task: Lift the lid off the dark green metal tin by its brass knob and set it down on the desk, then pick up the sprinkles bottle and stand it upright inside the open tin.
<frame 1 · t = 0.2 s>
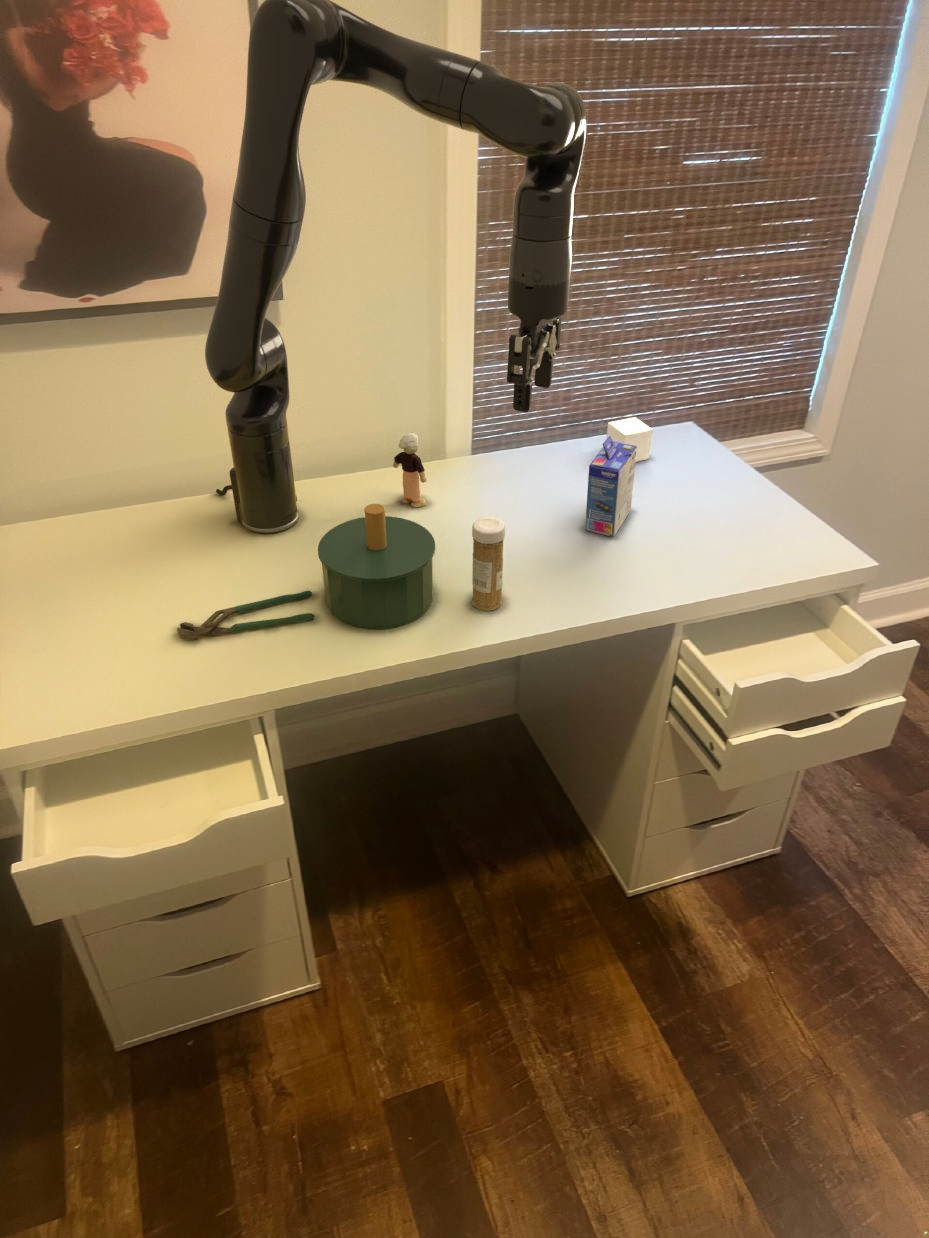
hand: (532, 398, 121), 29 cm above the table, tool pointing down, fingers open, 8 cm apart
grandmother figurine: (411, 502, 157), on the table
tin lid: (377, 549, 129), point 8 cm above the table, touching tin
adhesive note: (626, 456, 172), on the table
tin: (379, 597, 134), on the table
sprinkles bottle: (486, 603, 133), on the table
pliers: (248, 619, 130), on the table
ink cartridge box: (606, 521, 152), on the table
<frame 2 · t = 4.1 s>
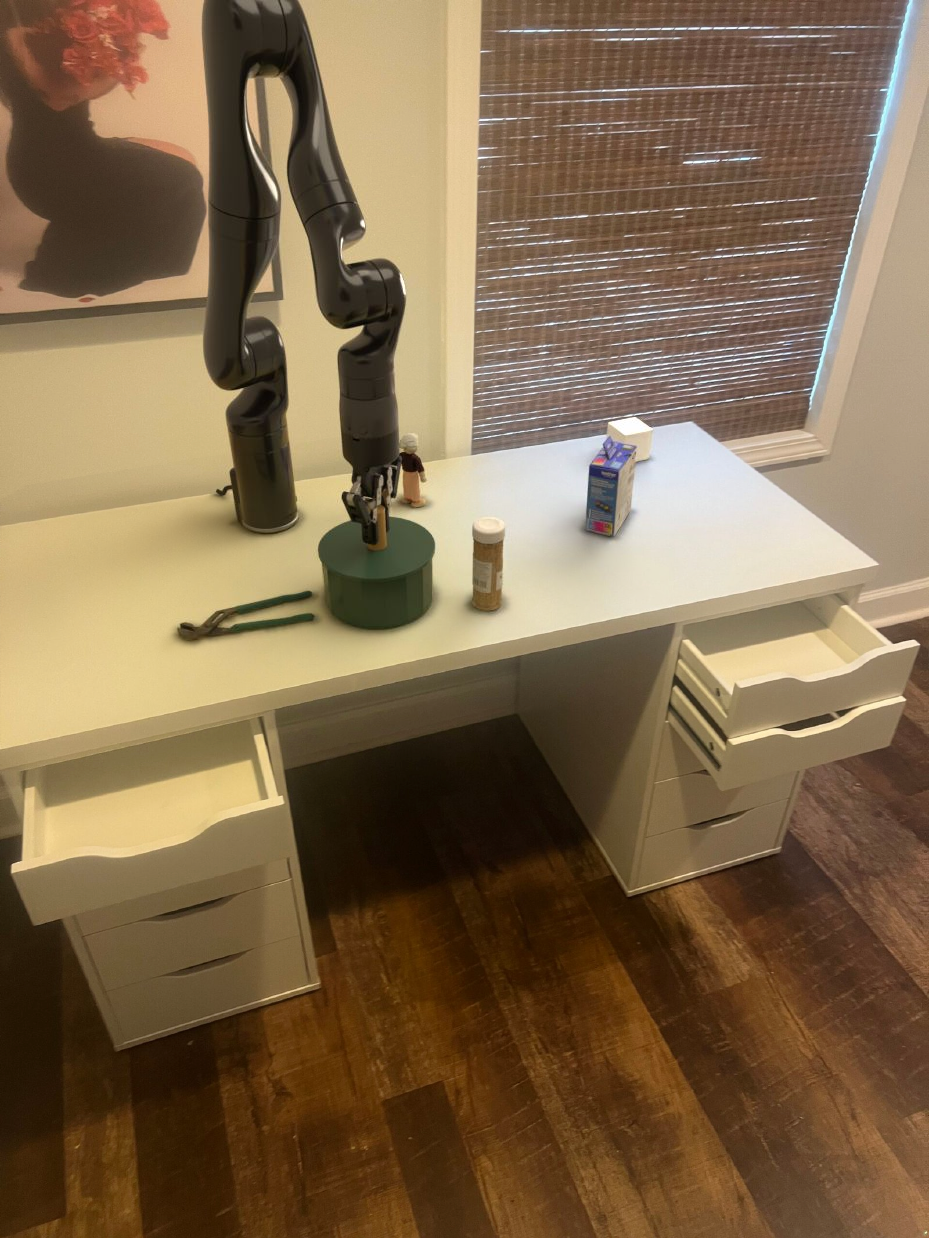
hand: (376, 536, 127), 11 cm above the table, tool pointing down, fingers closed on tin lid, 3 cm apart
tin lid: (377, 549, 129), point 9 cm above the table, touching gripper, tin
everything else where it was.
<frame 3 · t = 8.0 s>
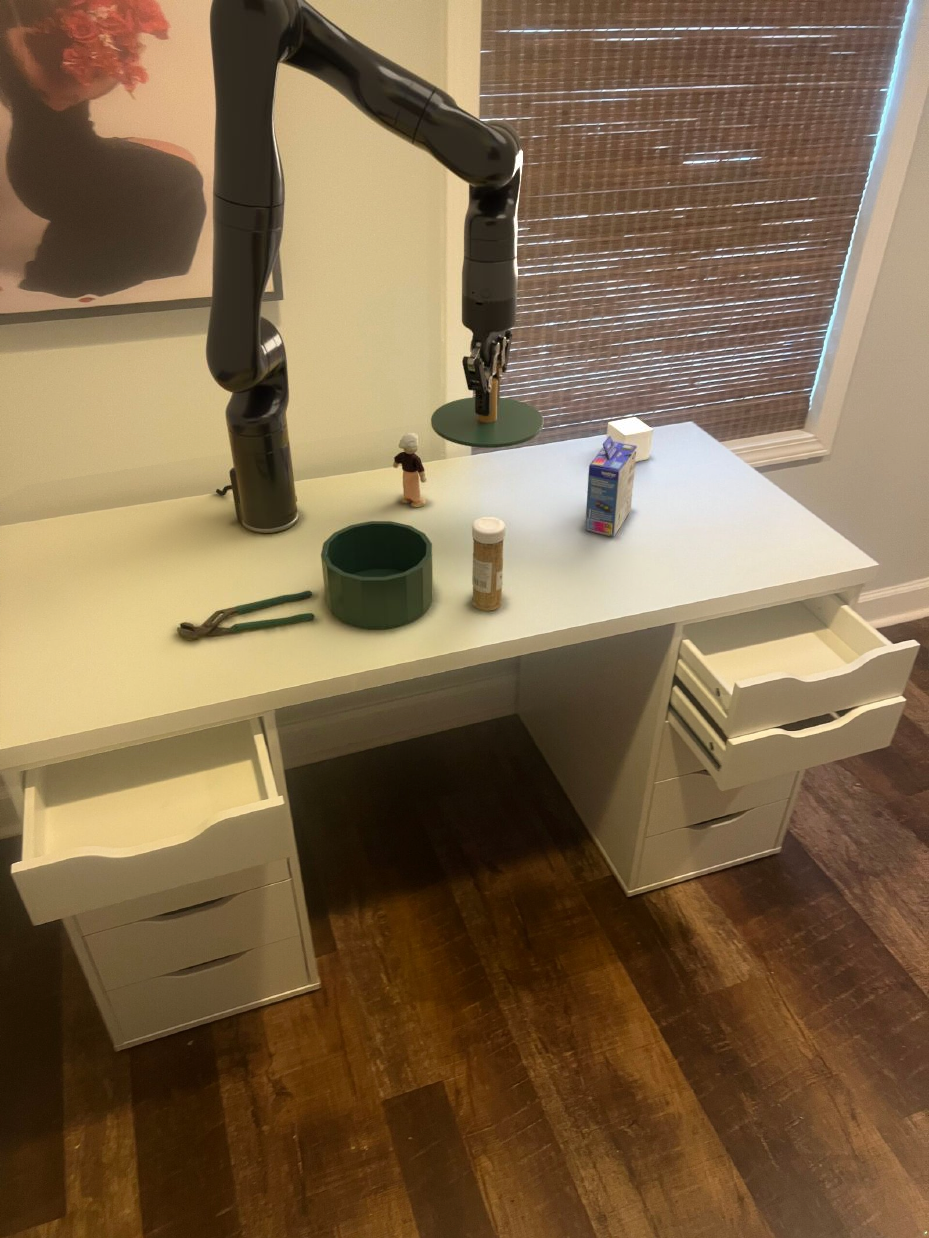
hand: (487, 409, 133), 23 cm above the table, tool pointing down, fingers closed on tin lid, 3 cm apart
tin lid: (487, 422, 134), point 21 cm above the table, touching gripper
everything else where it was.
when the fingers open (3 cm above the table, at t = 11.9 s): tin lid stays where it is, point 1 cm above the table.
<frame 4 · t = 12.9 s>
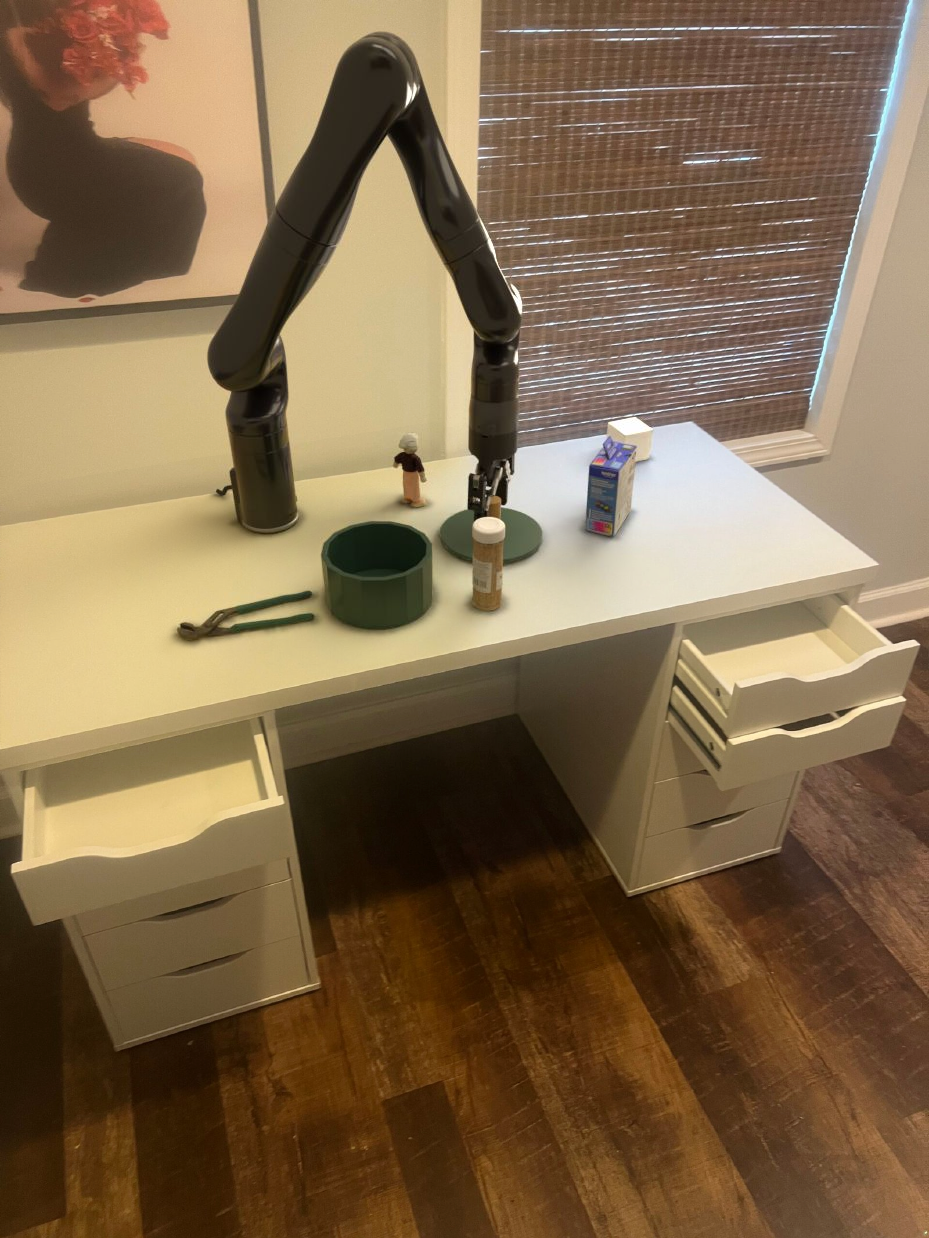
hand: (490, 516, 145), 4 cm above the table, tool pointing down, fingers open, 8 cm apart
tin lid: (491, 535, 147), point 1 cm above the table
everything else where it was.
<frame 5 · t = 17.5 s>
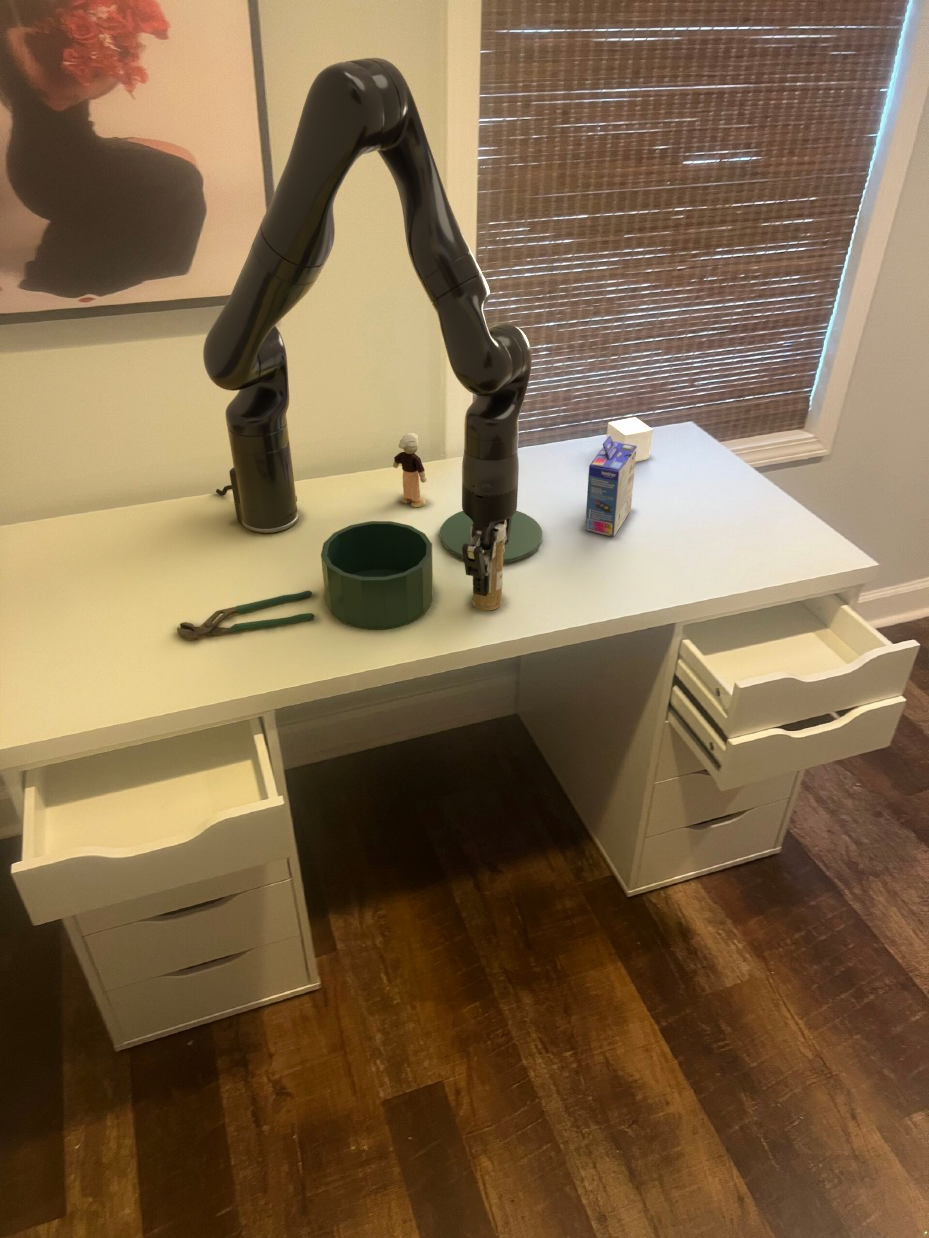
hand: (487, 584, 131), 3 cm above the table, tool pointing down, fingers closed on sprinkles bottle, 4 cm apart
sprinkles bottle: (486, 603, 133), on the table, touching gripper
everything else where it was.
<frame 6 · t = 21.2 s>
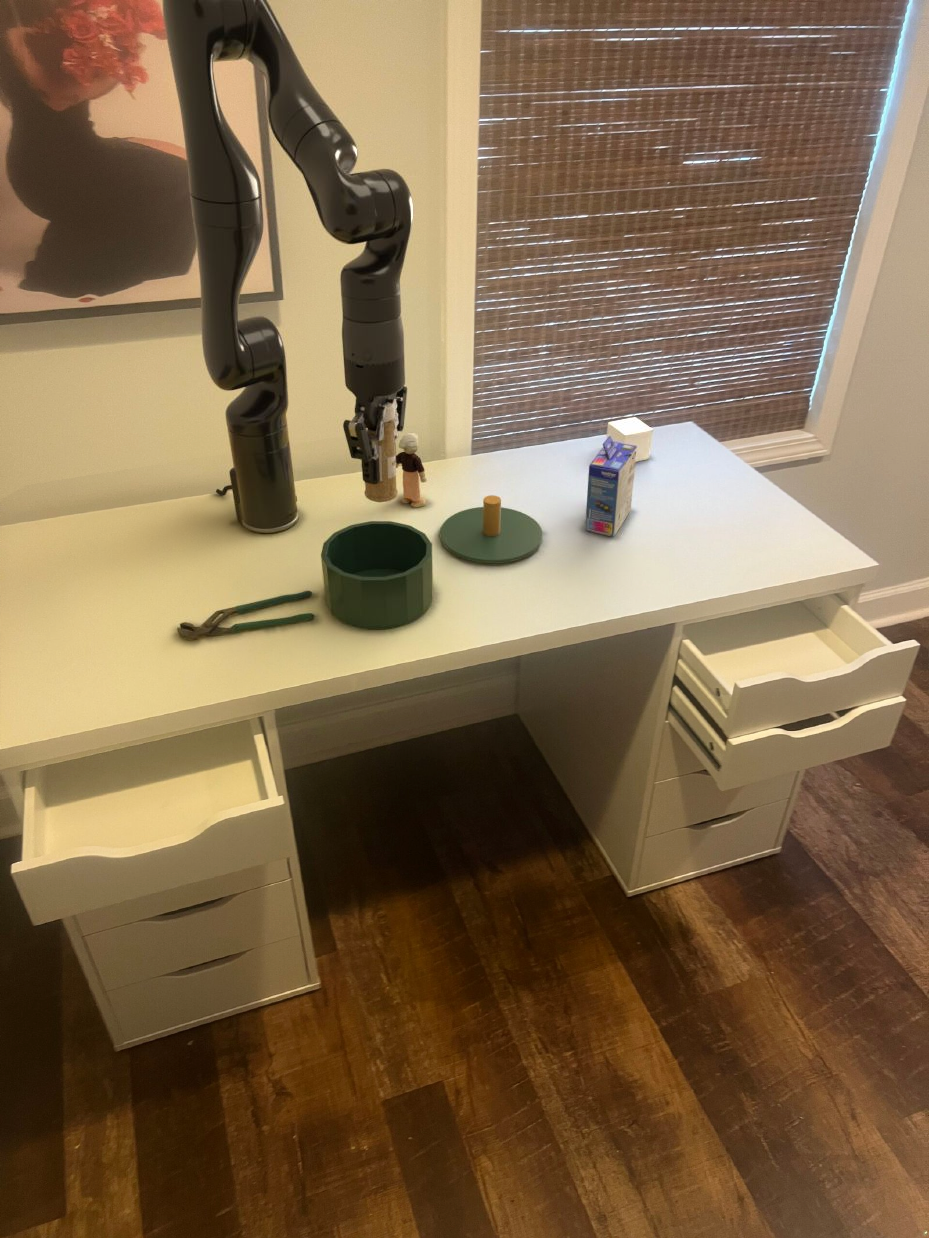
hand: (379, 473, 122), 20 cm above the table, tool pointing down, fingers closed on sprinkles bottle, 4 cm apart
sprinkles bottle: (380, 496, 124), point 17 cm above the table, touching gripper
everything else where it was.
when the fingers open (4 cm above the table, at t = 25.3 s): sprinkles bottle stays where it is, resting on tin.
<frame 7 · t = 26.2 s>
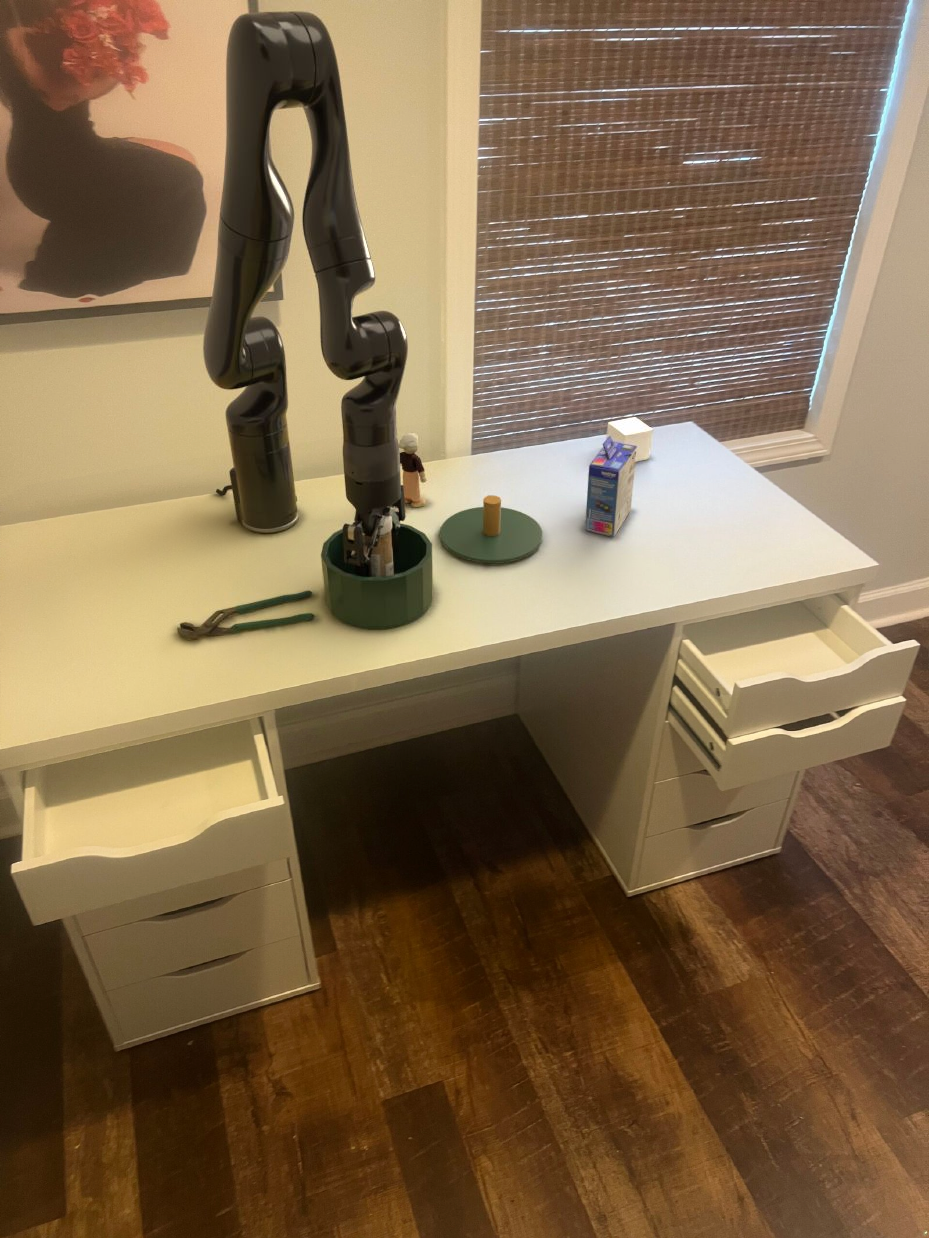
hand: (377, 567, 131), 5 cm above the table, tool pointing down, fingers open, 8 cm apart
sprinkles bottle: (380, 596, 134), resting on tin
everything else where it was.
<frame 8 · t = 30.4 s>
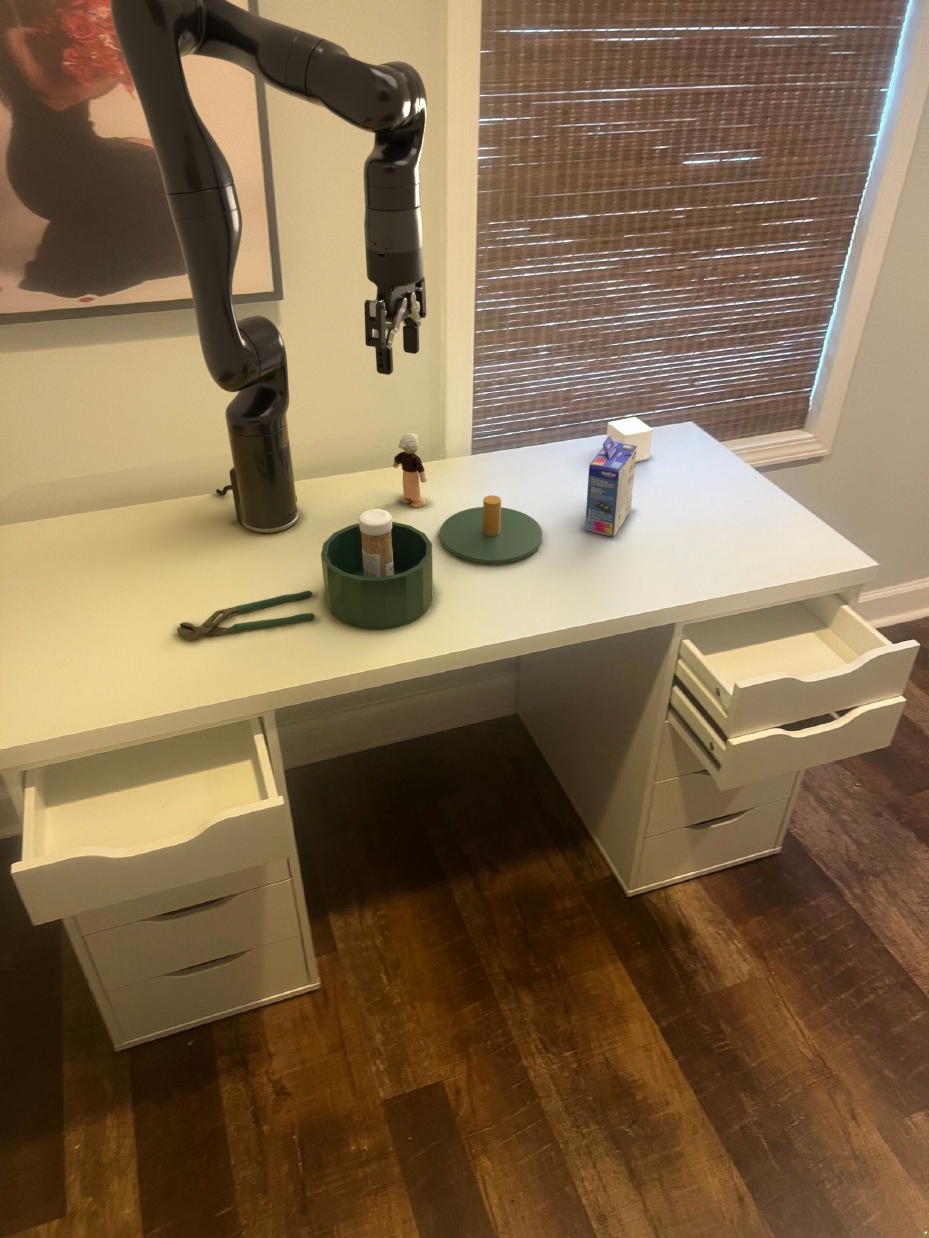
hand: (398, 362, 128), 30 cm above the table, tool pointing down, fingers open, 8 cm apart
nothing on the table moved.
at the end: tin lid inside the target area (0.1 cm from its centre), point 0.6 cm above the table; sprinkles bottle inside the target area in the tin (0.1 cm from its centre), point 0.3 cm above the tin's base; sprinkles bottle tilted 0° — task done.
